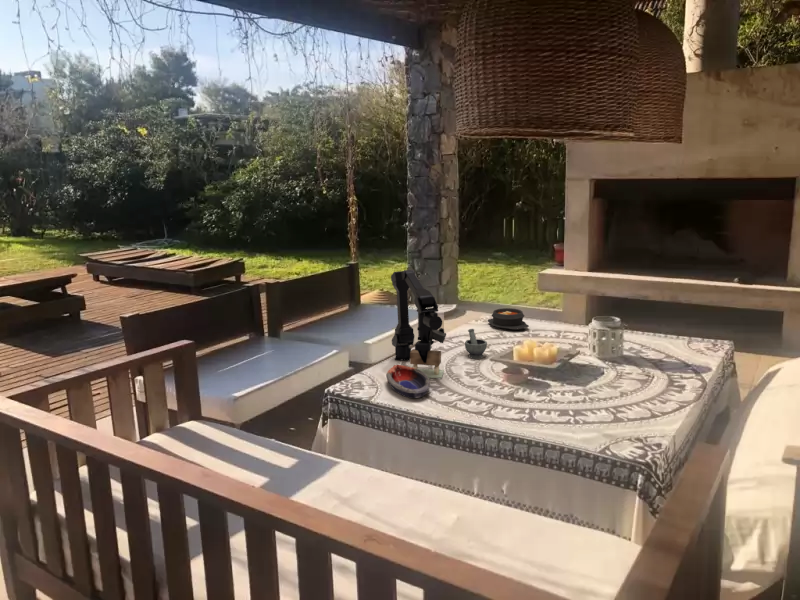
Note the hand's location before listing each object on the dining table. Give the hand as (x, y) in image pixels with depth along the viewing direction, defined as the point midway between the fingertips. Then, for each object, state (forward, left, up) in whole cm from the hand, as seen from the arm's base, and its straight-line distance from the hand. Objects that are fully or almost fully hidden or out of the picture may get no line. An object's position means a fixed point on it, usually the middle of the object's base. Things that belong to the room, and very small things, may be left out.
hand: (425, 360), depth 267 cm
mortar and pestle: (+19, +27, -6) cm, 34 cm away
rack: (0, 0, -6) cm, 6 cm away
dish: (-5, -16, -6) cm, 18 cm away
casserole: (+33, +80, -6) cm, 87 cm away
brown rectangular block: (0, 0, -1) cm, 1 cm away
